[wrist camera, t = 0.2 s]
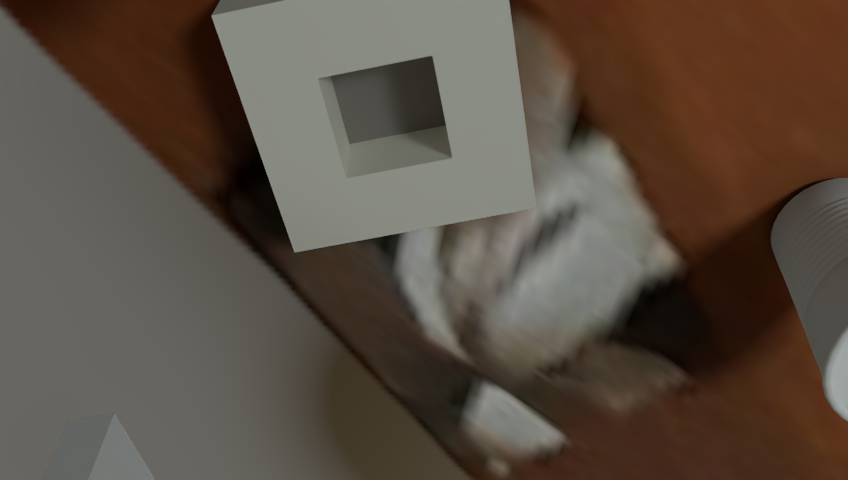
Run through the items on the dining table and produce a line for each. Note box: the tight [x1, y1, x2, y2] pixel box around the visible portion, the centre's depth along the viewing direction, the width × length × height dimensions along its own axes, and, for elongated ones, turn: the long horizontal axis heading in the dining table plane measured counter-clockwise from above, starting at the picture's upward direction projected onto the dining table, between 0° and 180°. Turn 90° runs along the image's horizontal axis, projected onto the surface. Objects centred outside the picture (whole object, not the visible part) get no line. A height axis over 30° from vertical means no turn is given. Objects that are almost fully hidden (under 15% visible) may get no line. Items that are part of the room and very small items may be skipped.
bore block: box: [211, 0, 536, 252], centre depth 36 cm, size 12×12×4 cm
